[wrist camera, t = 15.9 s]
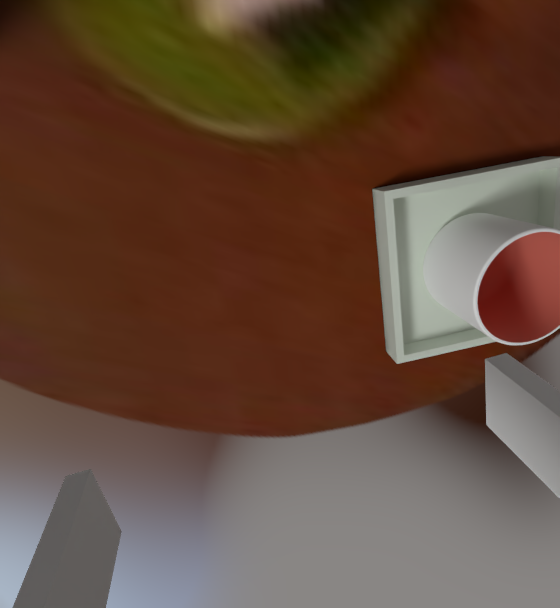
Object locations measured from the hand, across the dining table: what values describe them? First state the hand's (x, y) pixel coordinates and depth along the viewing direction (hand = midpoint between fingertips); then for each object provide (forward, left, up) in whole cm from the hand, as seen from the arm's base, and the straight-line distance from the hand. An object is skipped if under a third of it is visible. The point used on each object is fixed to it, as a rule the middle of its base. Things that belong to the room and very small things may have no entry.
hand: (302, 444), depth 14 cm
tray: (+5, +22, -29) cm, 37 cm away
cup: (+5, +22, -28) cm, 36 cm away
